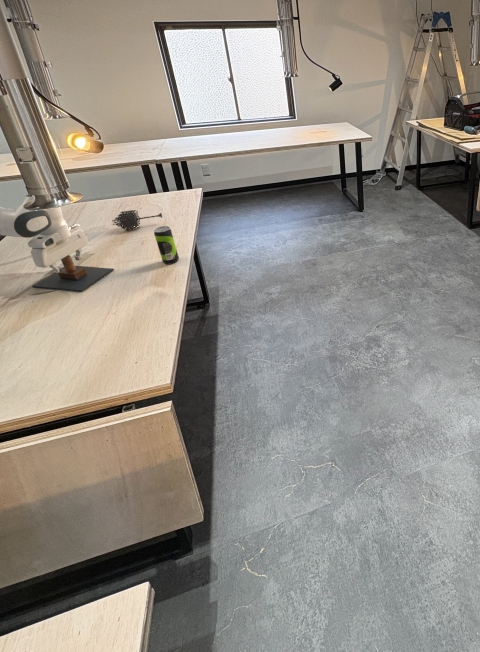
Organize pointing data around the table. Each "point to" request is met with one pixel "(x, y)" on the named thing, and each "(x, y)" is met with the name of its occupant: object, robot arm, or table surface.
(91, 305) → the table surface
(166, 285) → the table surface
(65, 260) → the wooden rubber stamp
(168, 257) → the beverage can
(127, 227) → the massage brush
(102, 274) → the mat
